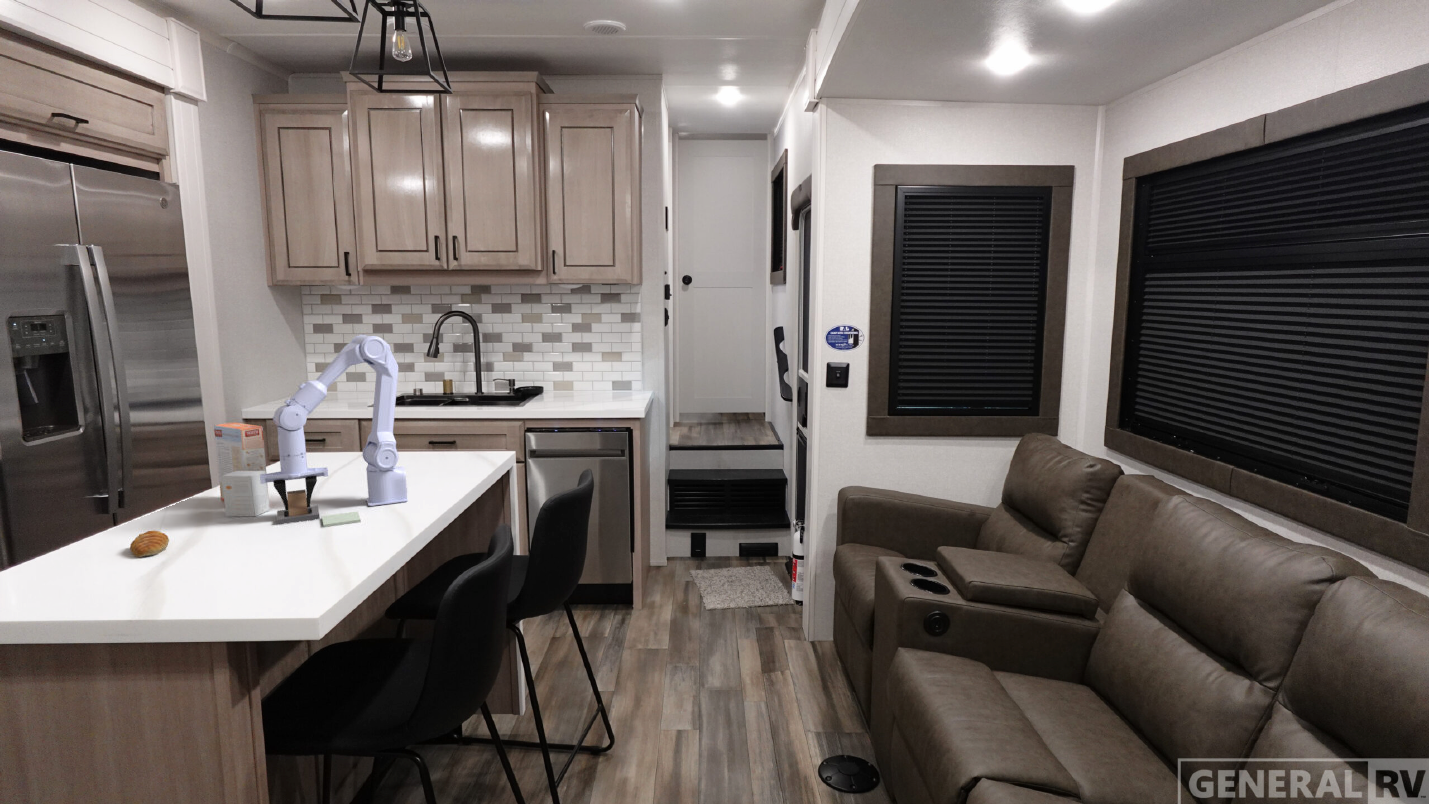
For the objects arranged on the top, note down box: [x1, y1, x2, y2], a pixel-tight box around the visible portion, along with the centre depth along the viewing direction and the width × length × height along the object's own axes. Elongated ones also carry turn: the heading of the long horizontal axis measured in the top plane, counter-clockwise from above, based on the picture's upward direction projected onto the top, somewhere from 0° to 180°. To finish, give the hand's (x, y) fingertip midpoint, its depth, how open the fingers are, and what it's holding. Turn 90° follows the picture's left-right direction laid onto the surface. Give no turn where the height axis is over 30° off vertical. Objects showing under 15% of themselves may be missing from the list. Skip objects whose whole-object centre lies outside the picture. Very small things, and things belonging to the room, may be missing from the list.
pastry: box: [129, 529, 170, 559], centre depth 161 cm, size 9×7×4 cm
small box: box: [221, 471, 271, 517], centre depth 188 cm, size 8×6×10 cm
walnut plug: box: [286, 489, 309, 517], centre depth 185 cm, size 4×4×6 cm
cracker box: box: [213, 422, 269, 502], centre depth 198 cm, size 14×6×21 cm, turn 58°
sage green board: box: [321, 511, 362, 528], centre depth 182 cm, size 8×8×1 cm
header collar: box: [276, 505, 320, 525], centre depth 185 cm, size 9×9×1 cm
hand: (297, 507), depth 185 cm, fingers closed on walnut plug, 4 cm apart
